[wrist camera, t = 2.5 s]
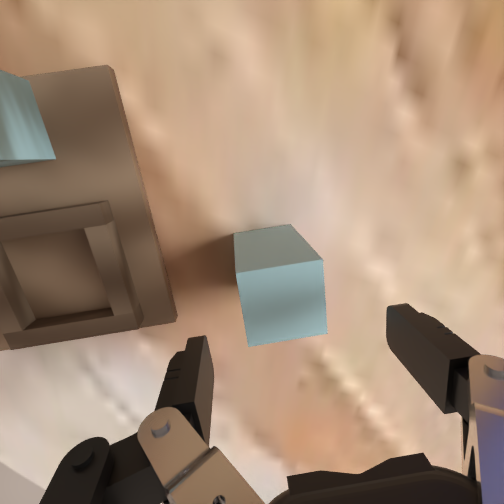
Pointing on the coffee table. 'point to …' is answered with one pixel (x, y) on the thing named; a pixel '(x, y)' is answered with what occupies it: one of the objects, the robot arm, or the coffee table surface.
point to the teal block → (279, 285)
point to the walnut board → (73, 214)
